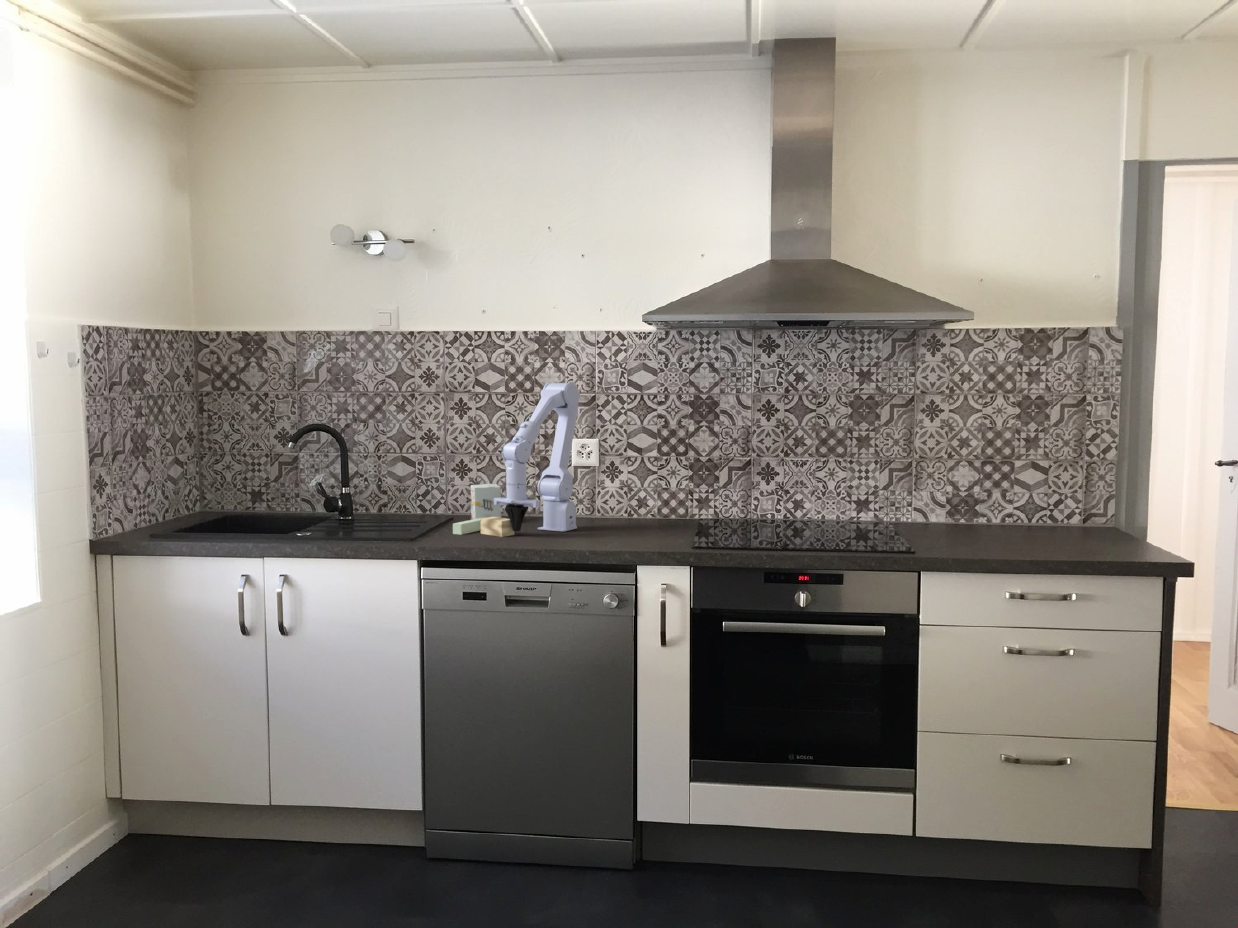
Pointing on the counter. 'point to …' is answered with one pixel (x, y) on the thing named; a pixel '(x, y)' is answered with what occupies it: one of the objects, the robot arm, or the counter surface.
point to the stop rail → (467, 526)
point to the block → (496, 526)
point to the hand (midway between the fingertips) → (516, 530)
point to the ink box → (485, 501)
